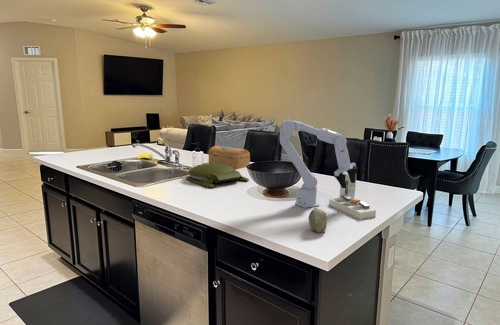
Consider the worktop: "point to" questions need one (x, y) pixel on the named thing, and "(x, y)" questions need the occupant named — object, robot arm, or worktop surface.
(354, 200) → the rocker
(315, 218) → the mottled olive rock
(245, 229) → the worktop surface
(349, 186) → the syrup box
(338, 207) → the white tray
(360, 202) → the rocker
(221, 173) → the folded olive dish cloth
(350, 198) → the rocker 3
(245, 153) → the wooden box
